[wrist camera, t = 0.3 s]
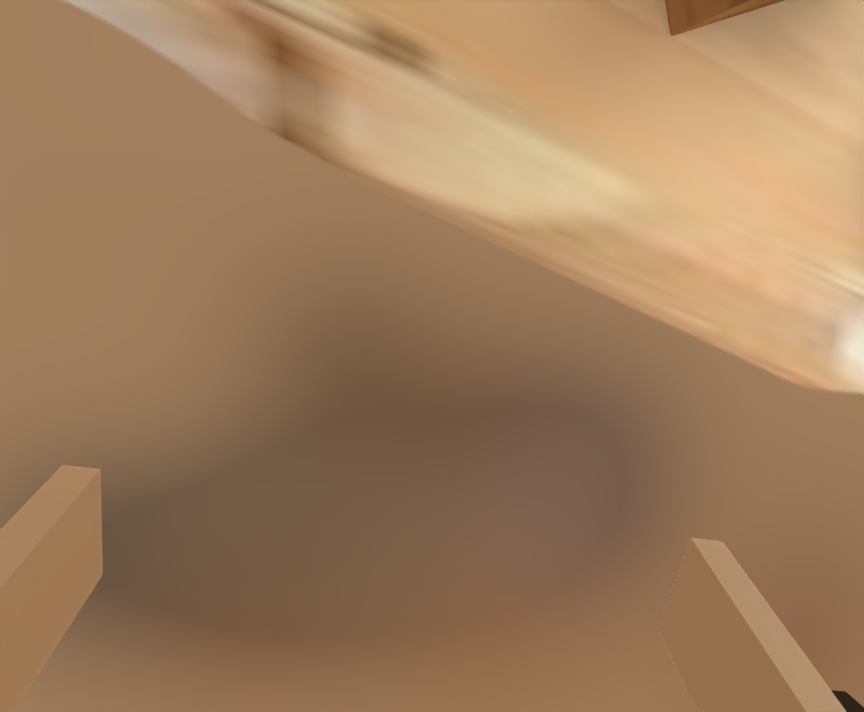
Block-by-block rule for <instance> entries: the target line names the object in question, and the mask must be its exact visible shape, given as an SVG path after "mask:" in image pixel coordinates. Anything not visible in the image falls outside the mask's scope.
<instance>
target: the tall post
mask: <svg viewBox="0 0 864 712" xmlns="http://www.w3.org/2000/svg"><path fill="white" fill-rule="evenodd" d="M780 1H784V0H666V6H667V12H668V18H669V24H670V30H671V36H673V35H676V34H679V33H682V32H685V31H688V30H692V29H695V28H698V27H701V26H704V25H707V24H711V23H714V22H717V21H720V20H723V19H727V18H730V17H733V16H736V15H739V14H742V13H746V12H749V11H752V10H755V9H758V8H761V7H765V6H768V5H771V4H774V3H777V2H780Z"/></svg>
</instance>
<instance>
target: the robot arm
mask: <svg viewBox="0 0 864 712" xmlns="http://www.w3.org/2000/svg"><path fill="white" fill-rule="evenodd" d="M101 520H102V519H101V474H100V469H94V468H86V467H77V466H68V465H62V466H61V467H60V468H59V469H58V470H57V471H56V472H55V473H54V474H53V475H52V477H51V478H50V479H49V480H48V481H47V482H46V483H45V484H44V485H43V486H42V487H41V488H40V489H39V490H38V491H37V492H36V493H35V494H34V495H33V496H32V497H31V498H30V499H29V501H28V502H27V503H26V504H25V505H24V506H23V507H22V508H21V509H20V510H19V511H18V512H17V513H16V514H15V515H14V516H13V517H12V518H11V519H10V520H9V521H8V522H7V523H6V524H5V526H3V528H2V529H1V530H0V712H14V710H15V709H16V707H17V706H18V704H19V703H20V701H21V700H22V698H23V697H24V695H25V693H26V692H27V690H28V689H29V687H30V686H31V684H32V683H33V681H34V680H35V678H36V676H37V675H38V673H39V672H40V670H41V669H42V667H43V666H44V664H45V663H46V661H47V659H48V658H49V656H50V655H51V653H52V652H53V650H54V649H55V647H56V646H57V644H58V643H59V641H60V639H61V638H62V636H63V635H64V633H65V632H66V630H67V629H68V627H69V626H70V624H71V622H72V621H73V619H74V618H75V616H76V615H77V613H78V612H79V610H80V609H81V607H82V606H83V604H84V602H85V601H86V599H87V597H88V596H89V595H90V593H91V592H92V590H93V588H94V587H95V586H96V584H97V582H98V581H99V579H100V578H101V576H102V575H103V570H102V569H103V568H102V523H101V522H102V521H101ZM657 632H658V634H659V636H660V638H661V640H662V642H663V644H664V646H665V648H666V651H667V653H668V655H669V657H670V659H671V661H672V663H673V665H674V667H675V669H676V671H677V673H678V675H679V678H680V679H681V682H682V684H683V686H684V688H685V690H686V692H687V694H688V696H689V698H690V700H691V703H692V705H693V707H694V709H695V711H696V712H864V708H863V707H862V706H861V705H860V704H859V703H858V702H857V701H856V700H855V699H853V698H852V697H851V696H850V695H849V694H848V693H846V692H843V691H833V690H832V691H831V690H830V688H829V687H828V686H827V684H826V683H825V682H824V680H823V679H822V677H821V676H820V675H819V673H818V672H817V671H816V669H815V668H814V666H813V665H812V664H811V662H810V661H809V660H808V658H807V657H806V655H805V654H804V653H803V651H802V650H801V649H800V647H799V646H798V644H797V643H796V642H795V640H794V639H793V638H792V636H791V635H790V634H789V632H788V631H787V629H786V628H785V627H784V626H783V624H782V623H781V621H780V620H779V619H778V617H777V616H776V614H775V613H774V612H773V610H772V609H771V607H770V606H769V605H768V603H767V602H766V601H765V599H764V598H763V597H762V595H761V594H760V593H759V591H758V590H757V589H756V587H755V586H754V584H753V583H752V581H751V580H750V579H749V577H748V576H747V575H746V573H745V572H744V571H743V569H742V568H741V566H740V565H739V564H738V562H737V561H736V560H735V559H734V557H733V556H732V554H731V553H730V551H729V550H728V549H727V547H726V546H725V545H724V543H723V542H722V541H713V540H705V539H696V538H691V539H690V541H689V544H688V547H687V550H686V552H685V555H684V558H683V561H682V564H681V566H680V569H679V572H678V574H677V577H676V580H675V583H674V585H673V588H672V591H671V594H670V596H669V599H668V602H667V605H666V607H665V610H664V613H663V616H662V619H661V621H660V624H659V627H658V629H657Z"/></svg>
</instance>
